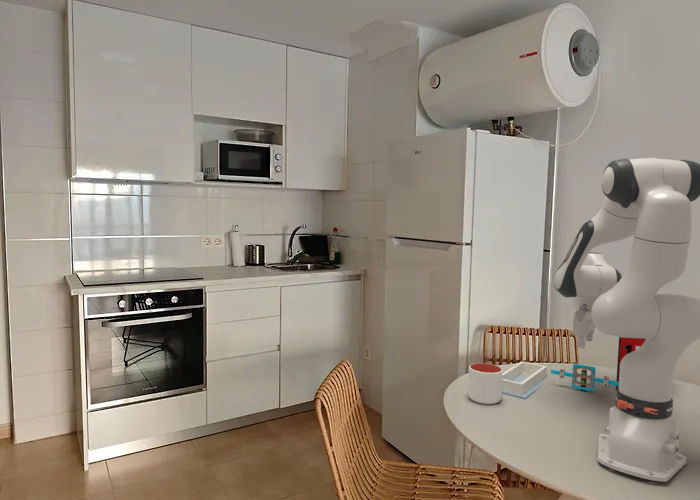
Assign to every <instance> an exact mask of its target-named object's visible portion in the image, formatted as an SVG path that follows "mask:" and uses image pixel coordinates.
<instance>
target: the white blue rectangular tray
mask: <svg viewBox="0 0 700 500" xmlns="http://www.w3.org/2000/svg"><path fill="white" fill-rule="evenodd" d="M523 372H525V373H530V374H531V375H530V376H528V377H524V376H519V375H520V374H522V373H523ZM547 375H548V366H547V365H542V364H537V363H532V362H528V361H520V362H518V363H517V364H515V365H513V366H511V367H510V368H508V369H507V370H506V371H504V372H503V374H502V395H505V396H509V397H513V398H517V399H521V400H527V399H528V398H529V397H530V396H532V394H534V393H535V392H536V391H537V390H538V389H539V388H541V387H542V385H543V384H545V383H546V382H547V381H546V380H544V379H545V378H546V377H547Z"/></svg>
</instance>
